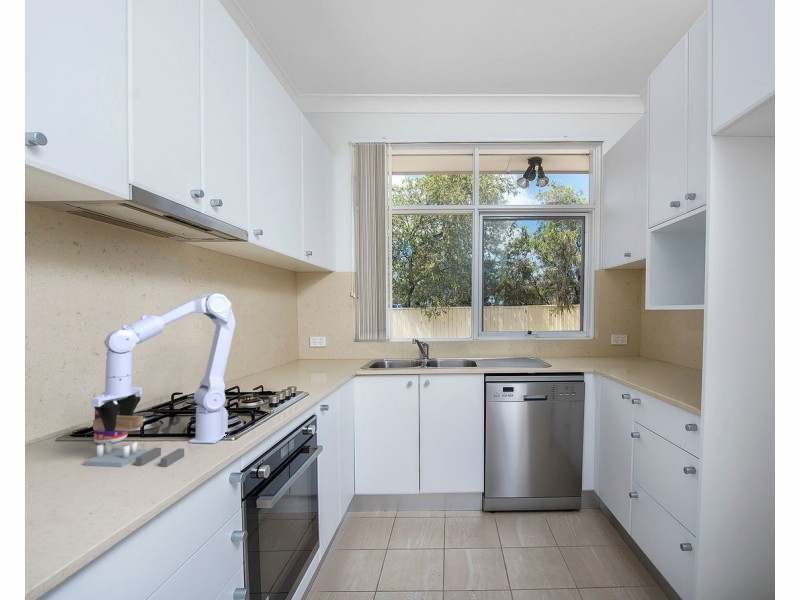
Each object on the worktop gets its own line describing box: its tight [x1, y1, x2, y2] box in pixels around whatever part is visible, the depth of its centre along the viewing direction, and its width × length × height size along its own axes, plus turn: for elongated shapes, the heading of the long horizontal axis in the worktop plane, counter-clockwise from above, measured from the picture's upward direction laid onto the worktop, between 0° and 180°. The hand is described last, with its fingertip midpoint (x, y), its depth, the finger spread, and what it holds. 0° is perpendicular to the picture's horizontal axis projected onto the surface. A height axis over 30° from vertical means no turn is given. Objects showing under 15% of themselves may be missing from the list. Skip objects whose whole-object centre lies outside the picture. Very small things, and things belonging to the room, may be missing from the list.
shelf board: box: [92, 415, 144, 432], centre depth 101 cm, size 4×10×2 cm, turn 86°
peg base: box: [83, 441, 149, 468], centre depth 100 cm, size 9×10×4 cm
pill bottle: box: [93, 391, 129, 445], centre depth 114 cm, size 8×8×14 cm
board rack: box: [135, 447, 185, 468], centre depth 100 cm, size 7×8×2 cm
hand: (117, 427), depth 101 cm, fingers closed on shelf board, 4 cm apart
